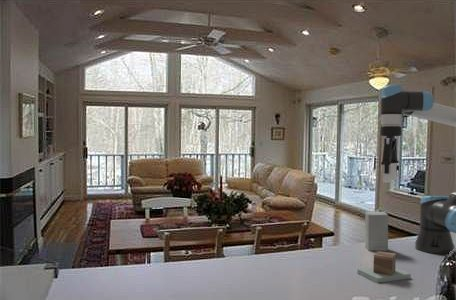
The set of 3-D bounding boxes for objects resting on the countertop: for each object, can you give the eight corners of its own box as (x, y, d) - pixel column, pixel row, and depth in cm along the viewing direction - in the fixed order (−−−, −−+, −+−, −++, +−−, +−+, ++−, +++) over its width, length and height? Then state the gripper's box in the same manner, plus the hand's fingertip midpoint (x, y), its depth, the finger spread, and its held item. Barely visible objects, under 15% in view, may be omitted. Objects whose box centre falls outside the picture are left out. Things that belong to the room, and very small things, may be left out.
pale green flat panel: (389, 269, 151) (390, 254, 151) (410, 278, 142) (411, 262, 141) (357, 273, 146) (357, 257, 146) (377, 282, 137) (377, 266, 137)
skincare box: (384, 247, 181) (384, 211, 181) (388, 252, 174) (389, 214, 174) (363, 246, 182) (364, 210, 182) (367, 251, 175) (368, 213, 175)
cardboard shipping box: (377, 267, 148) (377, 251, 147) (395, 270, 144) (395, 253, 144) (373, 272, 142) (373, 254, 142) (392, 275, 139) (392, 257, 139)
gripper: (386, 126, 174) (384, 177, 175) (374, 124, 153) (373, 183, 153) (405, 126, 171) (404, 178, 171) (396, 124, 149) (395, 184, 150)
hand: (389, 180), depth 162 cm, fingers open, 13 cm apart
